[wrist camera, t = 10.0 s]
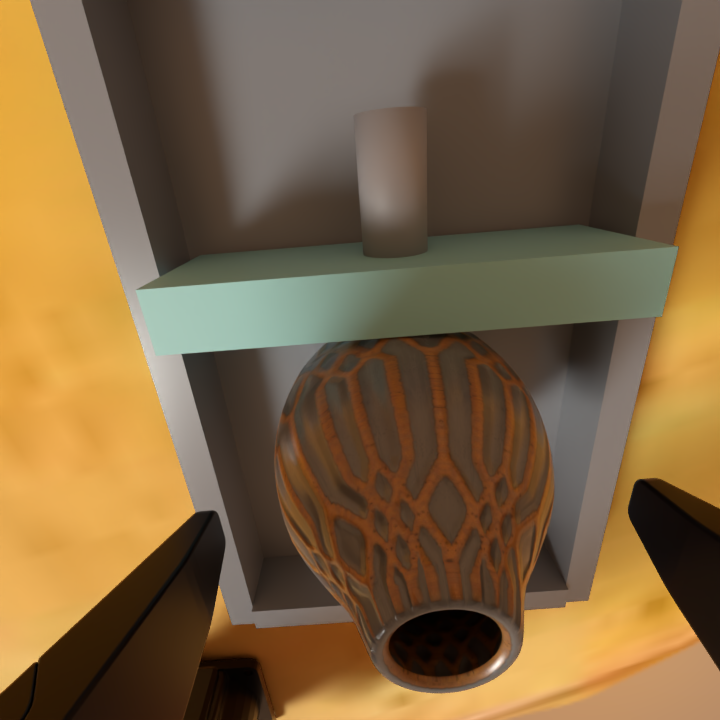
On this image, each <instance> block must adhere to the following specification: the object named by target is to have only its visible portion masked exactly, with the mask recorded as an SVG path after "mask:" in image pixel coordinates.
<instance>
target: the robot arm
mask: <svg viewBox="0 0 720 720" xmlns="http://www.w3.org/2000/svg"><path fill="white" fill-rule="evenodd" d="M628 514H629V518H630V520H631V522H632V524H633V526H634V528H635V530H636V532H637V534H638V536H639V537H640V539H641V541H642V543H643V545H644V547H645V549H646V551H647V553H648V555H649V556H650V558H651V560H652V562H653V564H654V566H655V568H656V570H657V572H658V573H659V575H660V577H661V579H662V581H663V583H664V584H665V586H666V588H667V590H668V591H669V593H670V595H671V596H672V598H673V600H674V601H675V603H676V604H677V606H678V607H679V609H680V610H681V612H682V614H683V615H684V617H685V618H686V620H687V621H688V623H689V624H690V626H691V627H692V629H693V630H694V632H695V634H696V635H697V637H698V638H699V640H700V641H701V643H702V644H703V646H704V647H705V649H706V650H707V652H708V654H709V655H710V657H711V658H712V660H713V661H714V663H715V664H716V666H717V667H718V669H719V671H720V509H719V508H717V507H715V506H713V505H711V504H709V503H707V502H705V501H703V500H701V499H699V498H697V497H695V496H693V495H691V494H689V493H687V492H685V491H683V490H681V489H679V488H677V487H675V486H673V485H671V484H669V483H667V482H665V481H663V480H661V479H658V478H650V479H639V480H637V481H636V482H635V484H634V487H633V491H632V495H631V498H630V502H629V506H628ZM225 547H226V540H225V535H224V531H223V528H222V524H221V521H220V518H219V515H218V513H217V511H214V510H208V511H198V512H196V513H195V514H193V515H192V516H191V517H190V518H189V519H188V520H187V521H186V522H185V523H184V524H183V525H182V526H181V527H179V528H178V529H177V530H176V531H175V532H174V533H173V534H172V535H171V536H170V537H169V538H168V539H167V540H165V541H164V542H163V543H162V544H161V545H160V546H159V547H158V548H157V549H156V550H155V551H154V552H153V553H152V554H150V555H149V556H148V557H147V558H146V559H145V560H144V561H143V562H142V563H141V564H140V565H139V566H138V567H136V568H135V569H134V570H133V571H132V572H131V573H130V574H129V575H128V576H127V577H126V578H125V579H124V580H122V581H121V582H120V583H119V584H118V585H117V586H116V587H115V588H114V589H113V590H112V591H111V592H110V593H109V594H107V595H106V596H105V597H104V598H103V599H102V600H101V601H100V602H99V603H98V604H97V605H96V606H95V607H93V608H92V609H91V610H90V611H89V612H88V613H87V614H86V615H85V616H84V617H83V618H82V619H81V620H80V621H78V622H77V623H76V624H75V625H74V626H73V627H72V628H71V629H70V630H69V631H68V632H67V633H66V634H64V635H63V636H62V637H61V638H60V639H59V640H58V641H57V642H56V643H55V644H54V645H53V646H52V647H50V648H49V649H48V650H47V651H46V652H45V653H44V654H43V655H42V656H41V657H40V658H39V660H38V662H35V663H33V664H32V665H31V666H30V667H29V668H28V669H27V670H26V671H24V672H23V673H22V674H21V675H20V676H19V677H18V678H17V679H16V680H15V681H14V682H13V683H12V684H10V685H9V686H8V687H7V688H6V689H5V690H4V691H3V692H2V693H1V694H0V720H276V718H275V714H274V711H273V708H272V704H271V701H270V697H269V694H268V691H267V687H266V684H265V681H264V677H263V674H262V671H261V667H260V664H259V662H258V661H256V660H254V659H237V660H223V661H208V662H200V660H201V657H202V653H203V650H204V646H205V643H206V640H207V636H208V633H209V629H210V625H211V621H212V616H213V612H214V607H215V601H216V596H217V591H218V585H219V580H220V574H221V569H222V564H223V558H224V553H225Z"/></svg>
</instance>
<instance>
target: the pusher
mask: <svg viewBox="0 0 720 720" xmlns="http://www.w3.org/2000/svg"><path fill="white" fill-rule="evenodd" d="M354 129H355V143H356V158H357V172H358V186H359V200H360V214H361V228H362V242H356V243H344V244H331V245H319V246H307V247H294V248H282V249H269V250H257V251H245V252H232V253H220V254H208V255H200V256H198V257H196V258H194V259H192V260H190V261H188V262H187V263H185V264H183V265H181V266H179V267H177V268H175V269H174V270H172V271H170V272H168V273H166V274H164V275H162V276H161V277H159V278H157V279H155V280H153V281H151V282H149V283H148V284H146V285H144V286H142V287H140V288H138V289H136V294H137V297H138V300H139V303H140V306H141V310H142V313H143V316H144V319H145V322H146V326H147V329H148V332H149V335H150V339H151V342H152V345H153V348H154V351H155V355H156V356H161V355H174V354H186V353H199V352H212V351H225V350H238V349H251V348H264V347H276V346H289V345H302V344H315V343H328V342H341V341H354V340H366V339H379V338H392V337H405V336H418V335H431V334H443V333H456V332H469V331H482V330H495V329H508V328H521V327H533V326H546V325H559V324H572V323H585V322H598V321H611V320H623V319H636V318H649V317H662V314H663V310H664V306H665V302H666V297H667V293H668V289H669V285H670V281H671V277H672V273H673V269H674V265H675V261H676V257H677V252H678V248H679V246H674V245H670V244H665V243H661V242H656V241H652V240H647V239H643V238H638V237H633V236H629V235H624V234H620V233H615V232H611V231H606V230H602V229H597V228H593V227H588V226H584V225H579V224H578V225H566V226H554V227H541V228H529V229H517V230H504V231H492V232H480V233H467V234H455V235H442V236H430V237H427V108H424V107H392V108H383V109H376V110H370V111H365V112H361V113H357V114H355V115H354Z"/></svg>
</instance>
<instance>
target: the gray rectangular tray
mask: <svg viewBox="0 0 720 720" xmlns="http://www.w3.org/2000/svg"><path fill="white" fill-rule="evenodd" d="M30 1H31V5H32V8H33V11H34V14H35V17H36V20H37V23H38V26H39V29H40V32H41V36H42V39H43V42H44V45H45V48H46V51H47V54H48V57H49V60H50V63H51V66H52V70H53V73H54V76H55V79H56V82H57V85H58V88H59V91H60V94H61V97H62V100H63V104H64V107H65V110H66V113H67V116H68V119H69V122H70V125H71V128H72V131H73V134H74V138H75V141H76V144H77V147H78V150H79V153H80V156H81V159H82V162H83V165H84V168H85V172H86V175H87V178H88V181H89V184H90V187H91V190H92V193H93V196H94V199H95V202H96V206H97V209H98V212H99V215H100V218H101V221H102V224H103V227H104V230H105V233H106V236H107V240H108V243H109V246H110V249H111V252H112V255H113V258H114V261H115V264H116V267H117V270H118V274H119V277H120V280H121V283H122V286H123V289H124V292H125V295H126V298H127V301H128V304H129V308H130V311H131V314H132V317H133V320H134V323H135V326H136V329H137V332H138V335H139V338H140V342H141V345H142V348H143V351H144V354H145V357H146V360H147V363H148V366H149V369H150V372H151V376H152V379H153V382H154V385H155V388H156V391H157V394H158V397H159V400H160V403H161V406H162V410H163V413H164V416H165V419H166V422H167V425H168V428H169V431H170V434H171V437H172V440H173V444H174V447H175V450H176V453H177V456H178V459H179V462H180V465H181V468H182V471H183V474H184V478H185V481H186V484H187V487H188V490H189V493H190V496H191V499H192V502H193V505H194V508H195V512H198V511H208V510H214V511H217V513H218V515H219V518H220V521H221V524H222V528H223V531H224V535H225V540H226V547H225V553H224V558H223V564H222V569H221V574H220V580H219V586H220V589H221V592H222V595H223V598H224V601H225V604H226V607H227V610H228V614H229V617H230V620H231V623H232V625H240V624H255V626H256V628H270V627H285V626H299V625H314V624H328V623H343V622H354V621H353V620H352V618H351V616H350V615H349V613H348V612H347V611H346V610H345V609H344V608H343V607H342V605H341V604H340V603H339V602H338V601H337V600H336V599H335V598H334V597H333V596H332V594H331V593H330V592H329V591H328V590H327V589H326V588H325V586H324V585H323V584H322V583H321V582H320V581H319V579H318V578H317V577H316V576H315V575H314V573H313V572H312V571H311V570H310V568H309V567H308V566H307V564H306V563H305V562H304V560H303V559H302V557H301V556H300V554H299V552H298V551H297V549H296V547H295V545H294V543H293V542H292V539H291V537H290V535H289V532H288V530H287V527H286V525H285V522H284V519H283V515H282V511H281V508H280V504H279V499H278V493H277V487H276V479H275V464H274V458H275V441H276V435H277V430H278V425H279V421H280V417H281V414H282V411H283V408H284V405H285V402H286V399H287V397H288V394H289V392H290V390H291V388H292V386H293V384H294V382H295V380H296V378H297V376H298V375H299V373H300V372H301V370H302V369H303V367H304V366H305V365H306V363H307V362H308V361H309V360H310V359H311V358H312V356H313V355H314V354H315V353H316V352H317V351H318V350H319V349H320V348H321V347H322V346H323V345H324V344H326V343H315V344H302V345H289V346H276V347H264V348H251V349H238V350H225V351H212V352H199V353H186V354H174V355H161V356H156V355H155V351H154V348H153V345H152V342H151V339H150V335H149V332H148V329H147V326H146V322H145V319H144V316H143V313H142V310H141V306H140V303H139V300H138V297H137V294H136V289H138V288H140V287H142V286H144V285H146V284H148V283H149V282H151V281H153V280H155V279H157V278H159V277H161V276H162V275H164V274H166V273H168V272H170V271H172V270H174V269H175V268H177V267H179V266H181V265H183V264H185V263H187V262H188V261H190V260H192V259H194V258H196V257H198V256H200V255H208V254H220V253H232V252H245V251H257V250H269V249H282V248H294V247H307V246H319V245H331V244H344V243H356V242H362V228H361V214H360V200H359V186H358V172H357V158H356V143H355V129H354V115H355V114H357V113H361V112H365V111H370V110H376V109H383V108H392V107H424V108H427V237H430V236H442V235H455V234H467V233H480V232H492V231H504V230H517V229H529V228H541V227H554V226H566V225H578V224H579V225H584V226H588V227H593V228H597V229H602V230H606V231H611V232H615V233H620V234H624V235H629V236H633V237H638V238H643V239H647V240H652V241H656V242H661V243H665V244H670V245H673V243H674V238H675V234H676V230H677V226H678V222H679V217H680V213H681V209H682V205H683V201H684V196H685V192H686V188H687V184H688V180H689V176H690V171H691V167H692V163H693V159H694V155H695V150H696V146H697V142H698V138H699V134H700V129H701V125H702V121H703V117H704V113H705V108H706V104H707V100H708V96H709V92H710V87H711V83H712V79H713V75H714V71H715V66H716V62H717V58H718V54H719V50H720V0H30ZM655 318H656V317H649V318H636V319H623V320H611V321H598V322H585V323H572V324H559V325H546V326H533V327H521V328H508V329H495V330H482V331H469V332H470V333H472V334H474V335H475V336H477V337H478V338H480V339H481V340H483V341H484V342H485V343H486V344H488V345H489V346H490V347H491V348H492V349H493V350H495V351H496V352H497V353H498V354H499V355H500V356H501V357H502V358H503V359H504V360H505V361H506V362H507V363H508V365H509V366H510V367H511V368H512V369H513V370H514V371H515V373H516V374H517V375H518V376H519V378H520V379H521V381H522V382H523V383H524V385H525V386H526V388H527V389H528V391H529V392H530V394H531V396H532V398H533V400H534V402H535V404H536V406H537V408H538V410H539V413H540V415H541V418H542V420H543V423H544V427H545V430H546V433H547V437H548V440H549V445H550V449H551V454H552V461H553V469H554V502H553V508H552V514H551V519H550V523H549V527H548V530H547V533H546V536H545V539H544V542H543V545H542V547H541V550H540V553H539V556H538V558H537V561H536V564H535V566H534V569H533V571H532V574H531V576H530V579H529V581H528V584H527V587H526V593H525V600H524V610H532V609H546V608H561V607H565V605H566V602H574V601H588V599H589V595H590V591H591V587H592V583H593V578H594V574H595V570H596V566H597V562H598V557H599V553H600V549H601V545H602V541H603V536H604V532H605V528H606V524H607V520H608V515H609V511H610V507H611V503H612V499H613V494H614V490H615V486H616V482H617V478H618V473H619V469H620V465H621V461H622V457H623V453H624V448H625V444H626V440H627V436H628V432H629V427H630V423H631V419H632V415H633V411H634V406H635V402H636V398H637V394H638V390H639V385H640V381H641V377H642V373H643V369H644V364H645V360H646V356H647V352H648V348H649V343H650V339H651V335H652V331H653V327H654V322H655Z"/></svg>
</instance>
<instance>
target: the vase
mask: <svg viewBox="0 0 720 720" xmlns="http://www.w3.org/2000/svg"><path fill="white" fill-rule="evenodd" d="M274 464H275V479H276V487H277V493H278V499H279V504H280V508H281V511H282V515H283V519H284V522H285V525H286V527H287V530H288V532H289V535H290V537H291V539H292V542H293V543H294V545H295V547H296V549H297V551H298V552H299V554H300V556H301V557H302V559H303V560H304V562H305V563H306V564H307V566H308V567H309V568H310V570H311V571H312V572H313V573H314V575H315V576H316V577H317V578H318V579H319V581H320V582H321V583H322V584H323V585H324V586H325V588H326V589H327V590H328V591H329V592H330V593H331V594H332V596H333V597H334V598H335V599H336V600H337V601H338V602H339V603H340V604H341V605H342V607H343V608H344V609H345V610H346V611H347V612H348V613H349V615H350V616H351V618H352V620H353V621H354V623H355V625H356V627H357V629H358V631H359V633H360V635H361V638H362V640H363V642H364V645H365V647H366V649H367V652H368V654H369V656H370V658H371V660H372V662H373V664H374V666H375V667H376V668H377V670H378V671H379V672H380V673H381V674H382V675H383V676H384V677H385V678H387V679H388V680H390V681H391V682H393V683H395V684H397V685H399V686H401V687H404V688H407V689H410V690H414V691H419V692H426V693H451V692H459V691H464V690H468V689H471V688H475V687H478V686H480V685H483V684H485V683H487V682H489V681H491V680H493V679H495V678H496V677H498V676H499V675H501V674H502V673H503V672H505V671H506V670H507V669H508V668H509V667H510V666H511V665H512V664H513V662H514V661H515V660H516V658H517V657H518V655H519V653H520V650H521V647H522V643H523V633H524V600H525V593H526V587H527V584H528V581H529V579H530V576H531V574H532V571H533V569H534V566H535V564H536V561H537V558H538V556H539V553H540V550H541V547H542V545H543V542H544V539H545V536H546V533H547V530H548V527H549V523H550V519H551V514H552V508H553V502H554V469H553V461H552V454H551V449H550V445H549V440H548V437H547V433H546V430H545V427H544V423H543V420H542V418H541V415H540V413H539V410H538V408H537V406H536V404H535V402H534V400H533V398H532V396H531V394H530V392H529V391H528V389H527V388H526V386H525V385H524V383H523V382H522V381H521V379H520V378H519V376H518V375H517V374H516V373H515V371H514V370H513V369H512V368H511V367H510V366H509V365H508V363H507V362H506V361H505V360H504V359H503V358H502V357H501V356H500V355H499V354H498V353H497V352H496V351H495V350H493V349H492V348H491V347H490V346H489V345H488V344H486V343H485V342H484V341H483V340H481V339H480V338H478V337H477V336H475V335H474V334H472V333H470V332H456V333H443V334H431V335H418V336H405V337H392V338H379V339H366V340H354V341H341V342H328V343H326V344H324V345H323V346H322V347H321V348H320V349H319V350H318V351H317V352H316V353H315V354H314V355H313V356H312V358H311V359H310V360H309V361H308V362H307V363H306V365H305V366H304V367H303V369H302V370H301V372H300V373H299V375H298V376H297V378H296V380H295V382H294V384H293V386H292V388H291V390H290V392H289V394H288V397H287V399H286V402H285V405H284V408H283V411H282V414H281V417H280V421H279V425H278V430H277V435H276V441H275V458H274Z"/></svg>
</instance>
